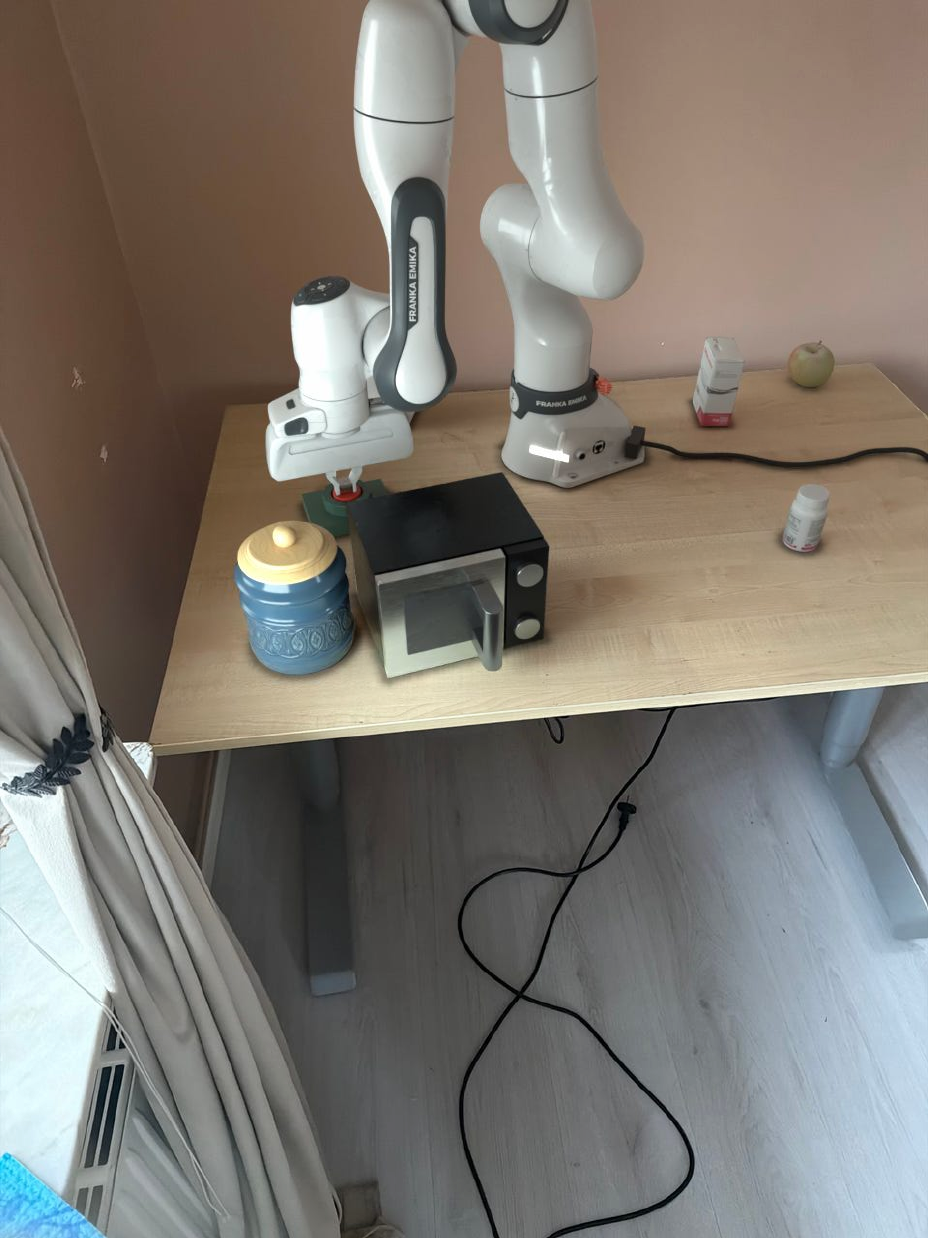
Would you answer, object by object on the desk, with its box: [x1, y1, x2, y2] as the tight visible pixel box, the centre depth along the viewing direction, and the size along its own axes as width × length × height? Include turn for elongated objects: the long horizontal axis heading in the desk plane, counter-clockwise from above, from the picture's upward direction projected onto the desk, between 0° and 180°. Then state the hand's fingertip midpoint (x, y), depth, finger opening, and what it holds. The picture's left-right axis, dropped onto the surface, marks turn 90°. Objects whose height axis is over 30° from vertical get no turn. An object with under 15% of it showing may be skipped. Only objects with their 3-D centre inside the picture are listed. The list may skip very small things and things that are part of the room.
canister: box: [233, 520, 356, 676], centre depth 106 cm, size 13×13×18 cm
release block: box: [301, 478, 389, 538], centre depth 130 cm, size 12×9×4 cm
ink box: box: [692, 336, 746, 427], centre depth 147 cm, size 9×5×12 cm, turn 179°
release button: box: [333, 485, 361, 502], centre depth 129 cm, size 4×4×2 cm
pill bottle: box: [782, 483, 831, 553], centre depth 122 cm, size 5×5×8 cm
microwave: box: [346, 471, 550, 668], centre depth 109 cm, size 16×20×15 cm
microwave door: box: [375, 549, 505, 679], centre depth 102 cm, size 7×15×15 cm, turn 108°
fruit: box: [787, 340, 835, 388], centre depth 155 cm, size 8×7×8 cm
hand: (345, 491), depth 128 cm, fingers closed, pressing on release button
